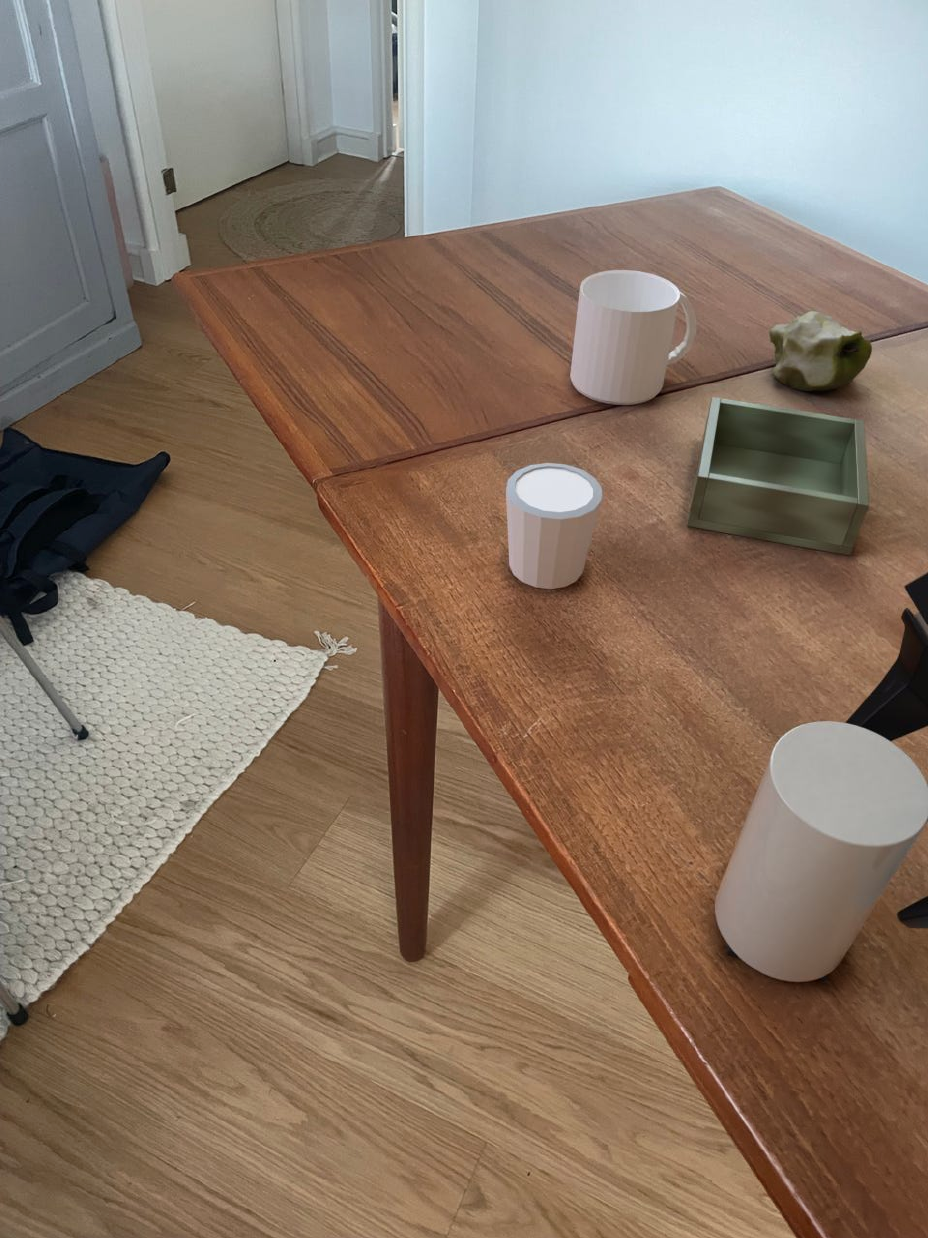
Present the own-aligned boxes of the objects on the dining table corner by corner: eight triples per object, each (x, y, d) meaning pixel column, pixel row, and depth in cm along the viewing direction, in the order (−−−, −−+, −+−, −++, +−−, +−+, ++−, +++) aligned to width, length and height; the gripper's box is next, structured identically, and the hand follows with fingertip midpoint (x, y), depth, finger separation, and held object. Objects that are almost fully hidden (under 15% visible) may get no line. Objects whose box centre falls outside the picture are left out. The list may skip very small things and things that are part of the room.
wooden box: (847, 468, 81) (864, 420, 78) (849, 556, 72) (869, 505, 69) (701, 444, 84) (711, 396, 80) (686, 526, 75) (697, 475, 71)
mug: (579, 407, 88) (591, 313, 81) (562, 361, 94) (571, 270, 88) (703, 403, 89) (724, 309, 82) (677, 358, 95) (695, 268, 89)
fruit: (863, 416, 90) (884, 346, 84) (762, 411, 92) (776, 343, 86) (857, 355, 96) (876, 286, 89) (762, 353, 97) (775, 284, 91)
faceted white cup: (562, 527, 74) (571, 452, 69) (609, 579, 70) (622, 502, 65) (485, 550, 72) (488, 474, 67) (528, 605, 67) (535, 527, 63)
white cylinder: (736, 844, 52) (792, 700, 44) (859, 898, 50) (943, 756, 42) (697, 943, 48) (751, 803, 40) (831, 1007, 46) (917, 872, 37)
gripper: (1026, 409, 39) (716, 609, 46) (1361, 760, 26) (850, 969, 33) (1115, 551, 45) (827, 710, 52) (1427, 899, 31) (981, 1051, 38)
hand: (862, 830), depth 44 cm, fingers open, 9 cm apart
